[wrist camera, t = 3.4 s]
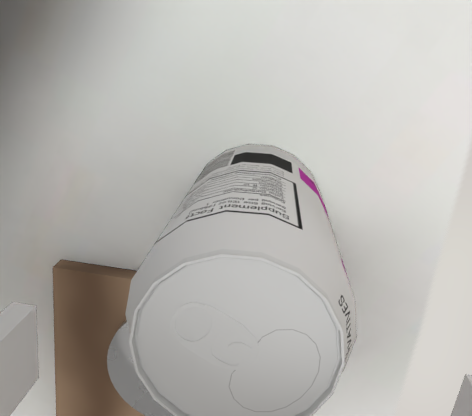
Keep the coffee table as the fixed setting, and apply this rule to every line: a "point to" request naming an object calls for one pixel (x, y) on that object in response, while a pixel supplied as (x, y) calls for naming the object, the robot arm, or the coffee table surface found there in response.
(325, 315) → the supplement can
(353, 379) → the coffee table surface
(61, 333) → the walnut board
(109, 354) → the large steel flange
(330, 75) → the coffee table surface
